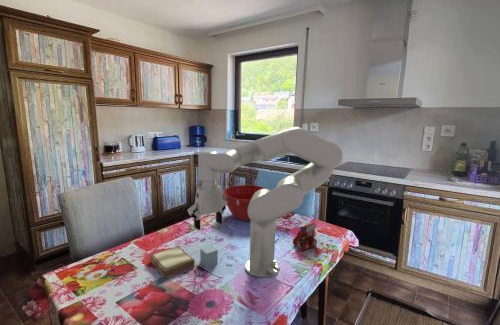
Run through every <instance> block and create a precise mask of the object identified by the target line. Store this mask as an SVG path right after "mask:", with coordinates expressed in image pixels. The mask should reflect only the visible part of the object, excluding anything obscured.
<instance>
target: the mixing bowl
mask: <svg viewBox="0 0 500 325" xmlns="http://www.w3.org/2000/svg"><path fill="white" fill-rule="evenodd" d="M260 189H268V190H270V191H271V190H272V189H269V188H267V187H263V186H259V185H252V184H249V185H248V184H242V185H234V186H233V185H232V186H230V187H229V186H228V187H227V188H225V189H224V190H223V192H222V195H223V196H224V200H225V201H227V202H228V203H227V205H226V207H227V208H228V210H229V211H230V213H231V215H232V216H233V217H235V218H236V219H237V220H240V221H246V222H248V221H250V222H251V219H250V218H249V216H248V206H249V203H250V201H251V198H252V196H253V195H254V193H255V192H257V191H258V190H260Z"/></svg>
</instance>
